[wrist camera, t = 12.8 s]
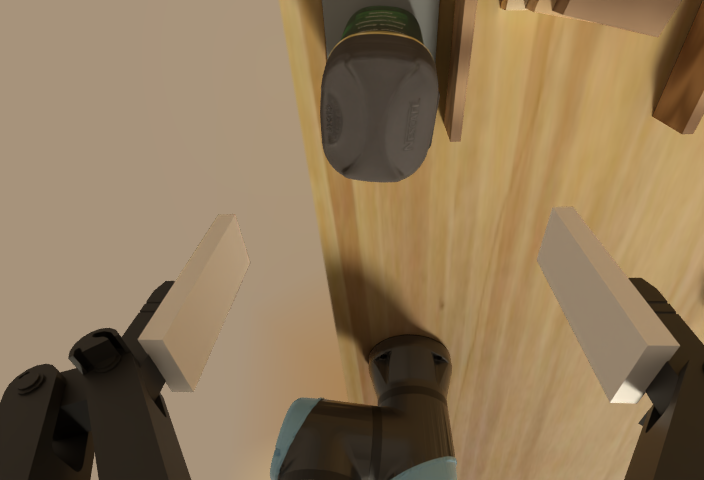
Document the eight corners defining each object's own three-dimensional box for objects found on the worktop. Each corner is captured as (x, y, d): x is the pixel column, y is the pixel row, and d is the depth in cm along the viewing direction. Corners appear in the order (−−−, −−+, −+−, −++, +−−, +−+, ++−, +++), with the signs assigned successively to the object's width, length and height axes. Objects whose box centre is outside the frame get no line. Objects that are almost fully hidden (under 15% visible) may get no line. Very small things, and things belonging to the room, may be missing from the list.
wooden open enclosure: (662, 116, 39) (693, 133, 36) (444, 124, 42) (450, 141, 38) (751, -81, 30) (807, -87, 26) (460, -58, 32) (471, -60, 28)
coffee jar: (341, 2, 35) (311, 37, 20) (425, 6, 35) (456, 44, 20) (340, 106, 41) (316, 190, 26) (412, 110, 40) (428, 197, 26)
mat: (430, 124, 42) (430, 125, 41) (334, 128, 43) (334, 129, 42) (440, -28, 33) (441, -28, 33) (320, -19, 34) (320, -19, 34)
